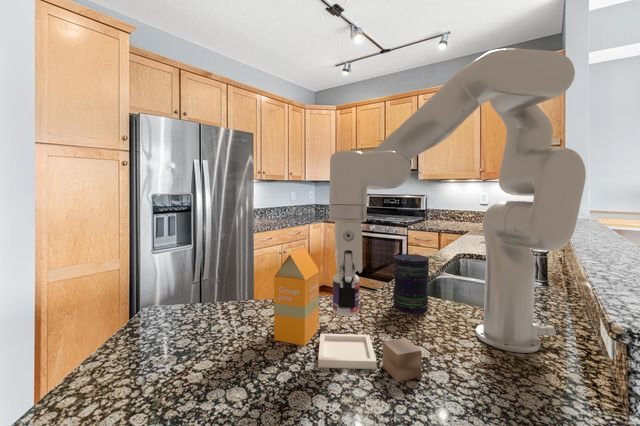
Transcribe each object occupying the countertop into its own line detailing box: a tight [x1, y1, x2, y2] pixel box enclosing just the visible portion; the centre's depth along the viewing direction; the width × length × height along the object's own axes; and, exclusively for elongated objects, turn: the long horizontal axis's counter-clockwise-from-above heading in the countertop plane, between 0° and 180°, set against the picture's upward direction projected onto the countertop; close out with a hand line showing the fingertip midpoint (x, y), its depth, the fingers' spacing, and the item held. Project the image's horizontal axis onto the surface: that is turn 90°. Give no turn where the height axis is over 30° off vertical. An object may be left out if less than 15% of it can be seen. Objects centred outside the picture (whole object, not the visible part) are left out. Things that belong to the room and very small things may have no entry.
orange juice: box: [273, 247, 320, 347], centre depth 71 cm, size 8×9×20 cm
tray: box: [317, 333, 378, 370], centre depth 63 cm, size 11×11×2 cm
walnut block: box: [382, 337, 423, 383], centre depth 56 cm, size 5×5×5 cm
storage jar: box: [392, 253, 430, 315], centre depth 89 cm, size 10×10×15 cm
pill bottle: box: [332, 264, 360, 317], centre depth 62 cm, size 5×5×10 cm
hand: (345, 300), depth 62 cm, fingers closed on pill bottle, 5 cm apart
